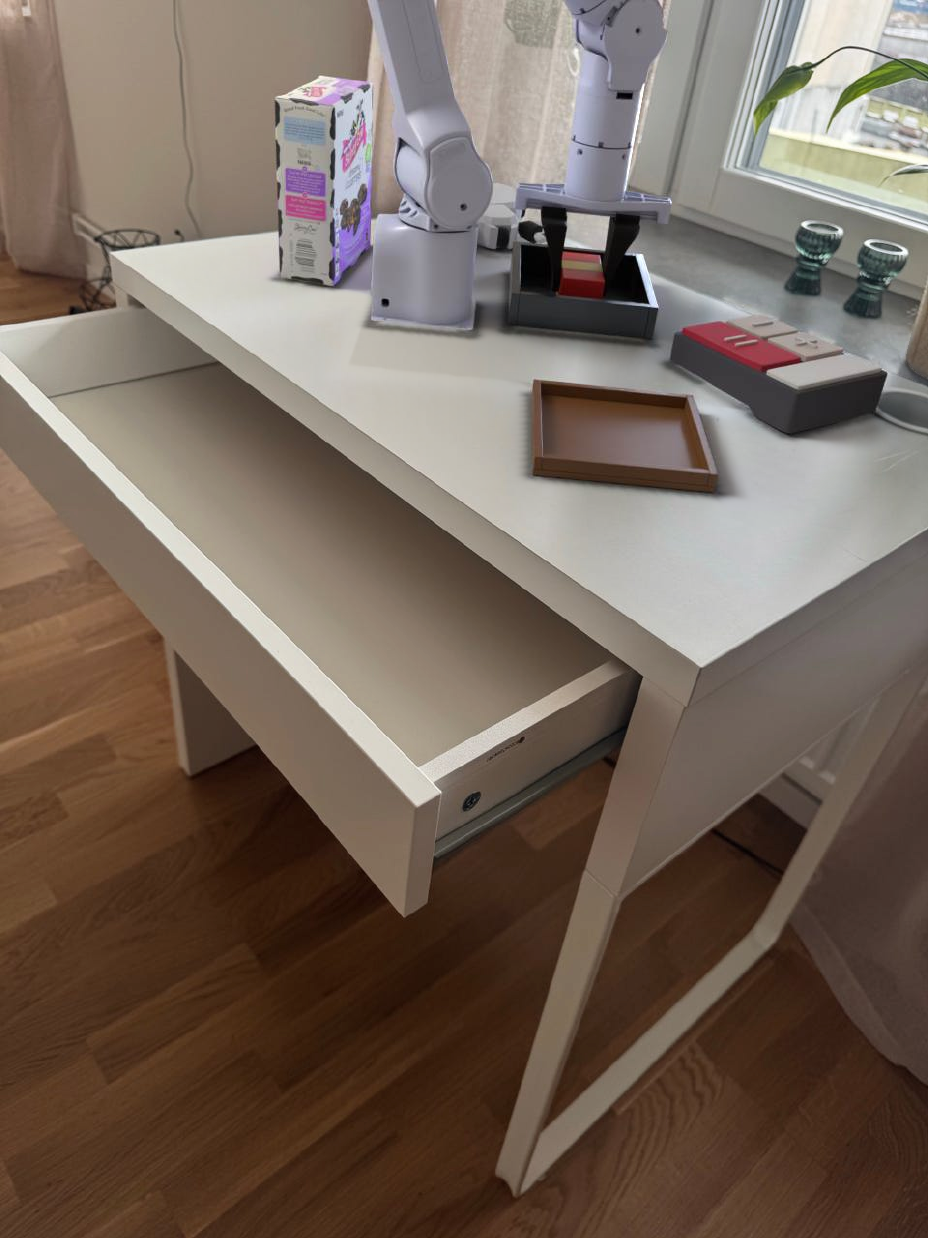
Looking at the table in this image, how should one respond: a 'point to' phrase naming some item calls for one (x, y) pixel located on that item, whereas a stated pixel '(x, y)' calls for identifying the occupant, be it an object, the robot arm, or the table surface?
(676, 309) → the table surface
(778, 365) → the calculator
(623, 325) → the dark grey open bin
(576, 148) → the robot arm
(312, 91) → the candy box
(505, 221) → the robot toy
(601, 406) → the tray
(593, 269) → the red yellow banded block
